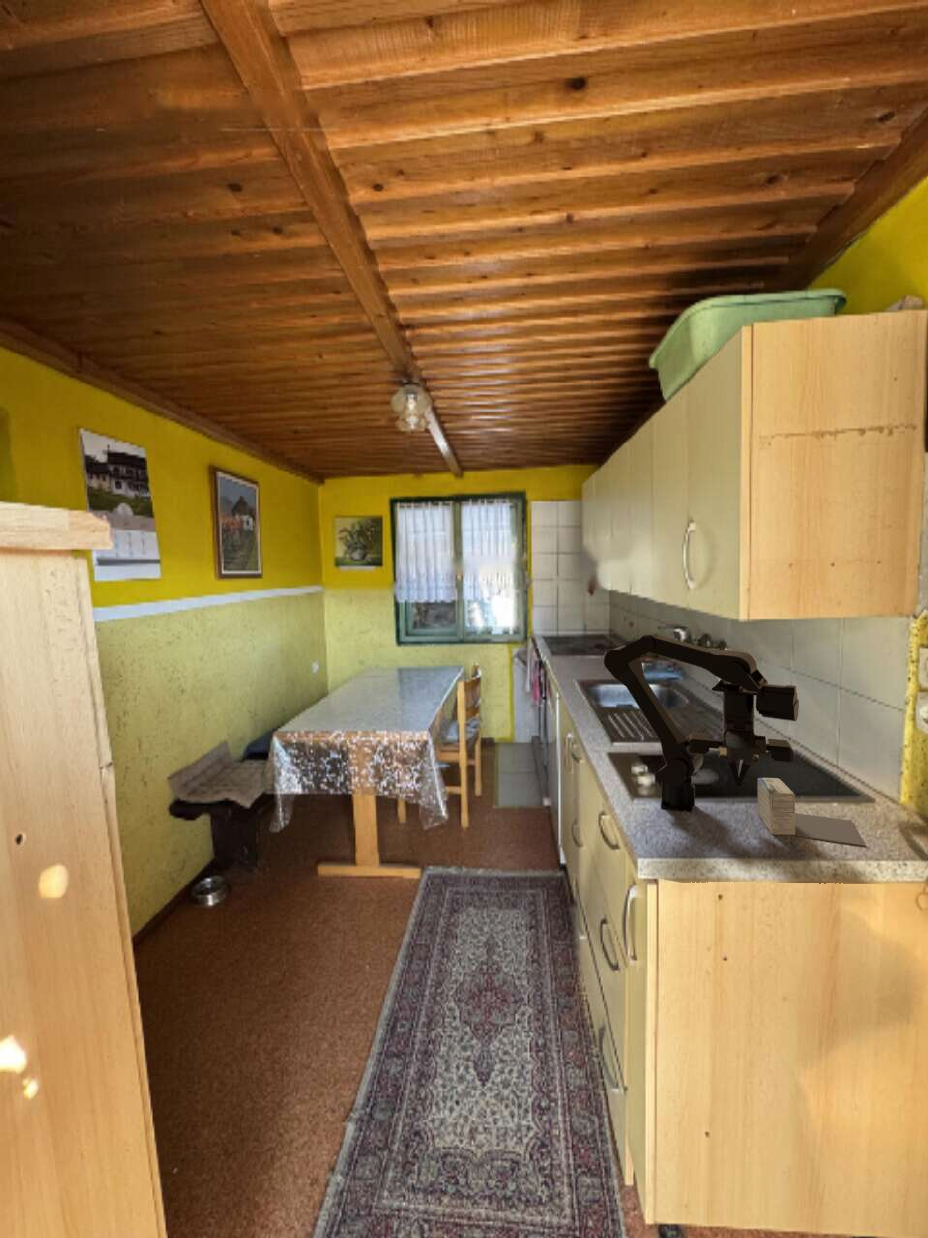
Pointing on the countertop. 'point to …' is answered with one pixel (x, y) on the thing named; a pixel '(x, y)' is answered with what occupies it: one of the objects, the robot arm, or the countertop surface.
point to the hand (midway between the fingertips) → (738, 786)
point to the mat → (827, 829)
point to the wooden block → (776, 806)
